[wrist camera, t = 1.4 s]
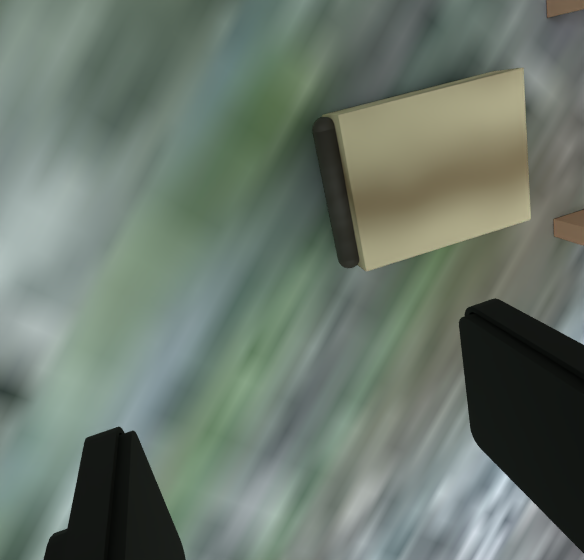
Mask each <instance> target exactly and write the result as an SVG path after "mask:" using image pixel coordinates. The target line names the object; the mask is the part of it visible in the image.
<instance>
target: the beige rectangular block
mask: <svg viewBox="0 0 584 560" xmlns="http://www.w3.org/2000/svg"><path fill="white" fill-rule="evenodd" d="M312 130H313V137H314V142H315V147H316V152H317V157H318V162H319V167H320V172H321V177H322V182H323V187H324V192H325V197H326V202H327V207H328V212H329V217H330V222H331V227H332V232H333V237H334V242H335V247H336V252H337V257H338V261H339V263H340V264H341V265H342V266H343V267H345V268H353V267H355V266H356V265H358V266H359V267H361V268H362V269H364V270H365V271H370V270H373V269H376V268H379V267H382V266H385V265H389V264H392V263H395V262H398V261H401V260H404V259H408V258H411V257H414V256H417V255H420V254H423V253H427V252H430V251H433V250H436V249H439V248H442V247H446V246H449V245H452V244H455V243H458V242H461V241H465V240H468V239H471V238H474V237H477V236H480V235H484V234H487V233H490V232H493V231H496V230H499V229H503V228H506V227H509V226H512V225H515V224H518V223H522V222H525V221H528V220H531V214H530V193H529V173H528V153H527V132H526V112H525V91H524V71H523V68H516V69H508V70H500V71H492V72H489V73H485V74H481V75H477V76H473V77H469V78H465V79H461V80H457V81H453V82H449V83H445V84H441V85H438V86H434V87H430V88H426V89H422V90H418V91H414V92H410V93H406V94H402V95H398V96H394V97H391V98H387V99H383V100H379V101H375V102H371V103H367V104H363V105H359V106H355V107H351V108H347V109H343V110H340V111H336V112H332V113H328V114H324V115H322V117H321V118H319V119H317V120H316V121H315V122H314V124H313V129H312Z"/></svg>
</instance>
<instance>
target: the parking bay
mask: <svg viewBox="0 0 584 560" xmlns="http://www.w3.org/2000/svg"><path fill="white" fill-rule="evenodd" d="M582 9H584V0H547V18H548V17H553V16H557V15H561V14H565V13H569V12H574V11H578V10H582ZM554 237H558V238H561V239H564V240H567V241H571V242H574V243H577V244H580V245H584V210H581V211H578V212H575V213H572V214H568V215H565V216H562V217H559V218H556V219H554Z"/></svg>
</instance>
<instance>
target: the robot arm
mask: <svg viewBox="0 0 584 560" xmlns="http://www.w3.org/2000/svg"><path fill="white" fill-rule="evenodd" d="M459 330H460V339H461V348H462V357H463V366H464V375H465V384H466V393H467V402H468V411H469V420H470V428H471V433H472V435H473V438H474V440H475V442H476V443H477V445H478V446H479V447H480V448H481V449H482V450H483V451H484V452H485V453H486V454H487V455H488V456H489V457H490V459H491V460H492V461H493V462H494V463H495V464H496V465H497V466H498V467H499V468H500V469H501V470H502V471H503V472H504V473H505V474H506V475H507V476H508V477H509V478H510V479H511V480H512V481H513V482H514V483H515V484H516V485H517V486H518V487H519V488H520V489H521V490H522V491H523V492H524V493H525V494H526V495H527V496H528V497H529V498H530V499H531V500H532V501H533V502H534V503H535V504H536V505H537V506H538V507H539V508H540V509H541V510H542V511H543V512H544V513H545V514H546V515H547V517H548V518H549V519H550V520H551V521H552V522H553V523H554V524H555V525H556V526H557V527H558V528H559V529H560V530H561V531H562V532H563V533H564V534H565V535H566V536H567V537H568V538H569V539H570V540H571V541H572V542H573V543H574V544H575V545H576V546H577V547H578V548H579V549H580V550H581V551H582V552H583V553H584V345H583V344H581V343H579V342H577V341H575V340H573V339H572V338H570V337H568V336H566V335H564V334H562V333H560V332H559V331H557V330H555V329H553V328H551V327H549V326H547V325H546V324H544V323H542V322H540V321H538V320H536V319H534V318H533V317H531V316H529V315H527V314H525V313H523V312H521V311H520V310H518V309H516V308H514V307H512V306H510V305H508V304H507V303H505V302H503V301H501V300H499V299H491V300H488V301H485V302H483V303H480V304H477V305H474V306H471V307H468V308H467V309H466V311H465V317H462V318H461V319H460V321H459ZM44 560H186V559H185V554H184V550H183V546H182V543H181V540H180V538H179V535H178V533H177V530H176V528H175V526H174V523H173V521H172V518H171V516H170V514H169V511H168V509H167V506H166V504H165V501H164V499H163V497H162V494H161V492H160V489H159V487H158V484H157V482H156V480H155V477H154V475H153V472H152V470H151V467H150V465H149V463H148V460H147V458H146V455H145V453H144V450H143V448H142V446H141V443H140V441H139V438H138V436H137V434H136V432H135V431H130V432H128V433H124V431H123V430H122V428H121V427H116V428H113V429H110V430H107V431H104V432H102V433H99V434H96V435H93V436H90V437H87V438H86V439H85V442H84V447H83V452H82V457H81V462H80V467H79V473H78V478H77V483H76V488H75V493H74V498H73V503H72V508H71V513H70V519H69V524H68V528H67V529H65V530H62V531H59V532H57V533H54V534H53V535H52V536H51V537H50V539H49V542H48V544H47V548H46V552H45V556H44Z"/></svg>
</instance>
